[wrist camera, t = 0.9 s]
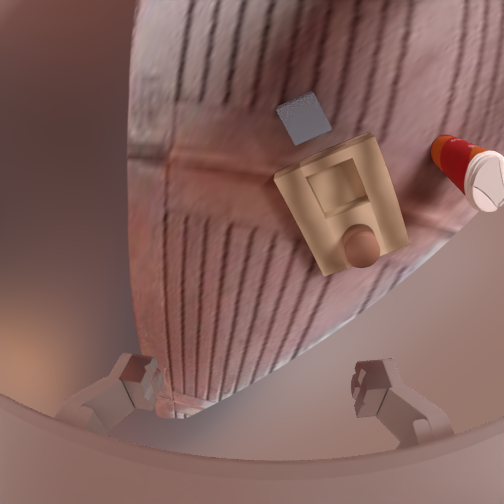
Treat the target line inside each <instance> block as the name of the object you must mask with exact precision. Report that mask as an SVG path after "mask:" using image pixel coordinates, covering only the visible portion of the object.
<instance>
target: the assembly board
mask: <svg viewBox="0 0 504 504" xmlns="http://www.w3.org/2000/svg"><path fill="white" fill-rule="evenodd" d="M274 181H275V183H276V185H277V187H278V189H279V191H280V192H281V194H282V196H283V198H284V200H285V202H286V204H287V205H288V207H289V209H290V211H291V213H292V215H293V217H294V219H295V220H296V222H297V224H298V226H299V228H300V230H301V232H302V234H303V236H304V238H305V240H306V242H307V244H308V246H309V248H310V250H311V252H312V253H313V255H314V257H315V259H316V261H317V263H318V265H319V267H320V269H321V272H322V274H323V276H327V275H330V274H333V273H336V272H339V271H341V270H344V269H347V268H350V267H352V266H354V267H357V268H365V267H369V266H371V265H373V264H374V263H375V262H376V261H377V260H378V258H379V256H382V255H385V254H387V253H390V252H392V251H395V250H398V249H400V248H403V247H405V246H408V245H410V243H409V239H408V235H407V232H406V228H405V224H404V221H403V217H402V214H401V210H400V207H399V204H398V200H397V197H396V194H395V191H394V188H393V185H392V182H391V179H390V176H389V173H388V170H387V167H386V164H385V162H384V159H383V156H382V154H381V151H380V148H379V146H378V143H377V141H376V138H375V137H374V136H373V135H372V134H371V133H370V132H368V133H365V134H363V135H360V136H358V137H355V138H353V139H350V140H348V141H345V142H343V143H340V144H338V145H336V146H333V147H331V148H328V149H326V150H324V151H321V152H319V153H317V154H314V155H312V156H310V157H307V158H305V159H303V160H301V161H298V162H296V163H294V164H292V165H289V166H287V167H285V168H283V169H281V170H278V171H276V172H275V176H274Z"/></svg>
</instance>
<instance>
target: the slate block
mask: <svg viewBox="0 0 504 504" xmlns="http://www.w3.org/2000/svg"><path fill="white" fill-rule="evenodd" d="M276 111H277V113H278V115H279V117H280V119H281V120H282V122H283V124H284V126H285V128H286V130H287V131H288V133H289V135H290V137H291V139H292V141H293V143H294V145H295V146H296V145H299V144H301V143H303V142H305V141H308V140H310V139H312V138H314V137H317V136H319V135H321V134H324V133H326V132H328V131H331V130H332V128H331V126H330V124H329V122H328V120H327V118H326V116H325V114H324V112H323V110H322V108H321V106H320V104H319V102H318V100H317V98H316V96H315V94H314V93H313V92H312V91H310V92H308V93H305V94H303V95H301V96H299V97H296V98H294V99H292V100H290V101H288V102H286V103H284V104H281V105H279V106H278V108H277V109H276Z"/></svg>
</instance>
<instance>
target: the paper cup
mask: <svg viewBox="0 0 504 504" xmlns="http://www.w3.org/2000/svg"><path fill="white" fill-rule="evenodd" d="M431 157H432V160H433V162H434V163H435V164H436V166H437V167H438V168H439V169H440V170H441V171H442V172H443V173H444V174H445V175H446V176H447V177H448V178H449V179H450V180H451V181H452V182H453V183H454V184H455V185H456V186H457V187H458V188H459V189H460V190H461V191H462V192H463V194H464V195H465V196H466V198H467V200H468V202H469V203H470V205H471V206H472V207H473V208H475V209H477V210H479V211H485V212H493V211H496V210H497V208H498V207H501V206H502V205H503V204H504V157H503V156H502V155H501V154H499V153H497V152H495V151H488V150H485V149H483V148H481V147H479V146H476V145H474V144H472V143H469V142H467V141H464V140H462V139H459V138H456V137H454V136H450V135H441V136H439V137H437V138H436V139H435V141H434V142H433V144H432V147H431Z"/></svg>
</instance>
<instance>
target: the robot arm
mask: <svg viewBox="0 0 504 504" xmlns="http://www.w3.org/2000/svg"><path fill="white" fill-rule="evenodd" d="M157 366H158V361H157V358H155V357H150V356H143V355H137V354H129V353H123V354H121V356H120V357H119V359H118V361H117V363H116V364H115V366H114V367H113V369H112V371H111V373H110V375H109V376H108V377H104V378H102V379H101V380H99V381H97V382H95V383H94V384H92V385H90V386H88V387H87V388H85V389H83V390H81V391H80V392H78V393H76V394H74V395H72V396H71V397H69V398H67V399H66V400H65V401H64V403H63V405H62V406H61V408H60V409H59V411H58V413H57V414H56V416H55V418H52V417H50V416H48V415H45V414H43V413H41V412H38V411H36V410H34V409H32V408H29V407H27V406H25V405H23V404H21V403H19V402H17V401H15V400H13V399H11V398H9V397H7V396H5V395H3V394H0V504H504V416H503V417H501V418H498V419H496V420H493V421H491V422H488V423H486V424H483V425H480V426H478V427H475V428H472V429H469V430H467V431H464V432H461V433H458V434H454V432H453V429H452V427H451V424H450V422H449V419H448V417H447V414H446V413H445V412H444V411H443V410H441V409H440V408H438V407H437V406H436V405H434V404H433V403H431V402H430V401H428V400H427V399H426V398H424V397H423V396H421V395H420V394H419V393H417V392H416V391H414V390H413V389H412V388H410V387H409V386H404V384H403V382H402V380H401V377H400V374H399V372H398V369H397V367H396V365H395V362H394V360H393V359H392V358H389V359H381V360H370V361H359V362H357V363H356V366H355V371H356V373H355V374H354V375H353V377H352V381H351V393H352V397H353V398H354V399H355V400H356V402H355V405H354V407H355V411H356V416H357V418H360V417H370V416H376V417H377V418H378V419H379V420H380V421H381V422H382V423H383V424H384V425H385V426H386V428H387V429H388V430H390V431H391V433H393V435H394V436H395V437H396V438H397V439H398V440H399V441H400V444H399V445H398V447H397V448H396V449H395V450H390V451H385V452H379V453H373V454H366V455H359V456H351V457H341V458H331V459H319V460H318V459H317V460H296V461H295V460H294V461H264V460H240V459H227V458H216V457H207V456H198V455H191V454H185V453H178V452H172V451H167V450H161V449H156V448H151V447H147V446H142V445H138V444H134V443H130V442H126V441H122V440H118V439H114V438H111V436H110V435H109V433H108V431H109V430H110V429H111V428H112V427H114V426H115V425H116V424H117V423H119V422H120V421H121V420H122V419H123V418H125V417H126V416H127V415H128V414H129V413H131V412H132V411H133V410H134V409H135V408H138V409H144V410H151V411H153V408H154V406H155V403H156V401H157V398H156V394H157V393H159V392H160V390H161V388H162V382H163V378H162V373H161V371H160V370H159V369H158V368H157Z"/></svg>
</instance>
